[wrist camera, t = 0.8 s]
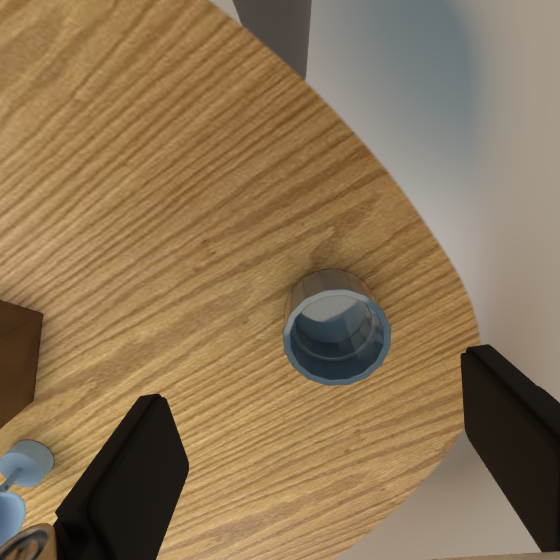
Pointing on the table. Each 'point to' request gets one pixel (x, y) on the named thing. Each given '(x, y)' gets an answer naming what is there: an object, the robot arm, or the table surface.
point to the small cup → (335, 328)
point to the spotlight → (20, 482)
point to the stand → (17, 358)
